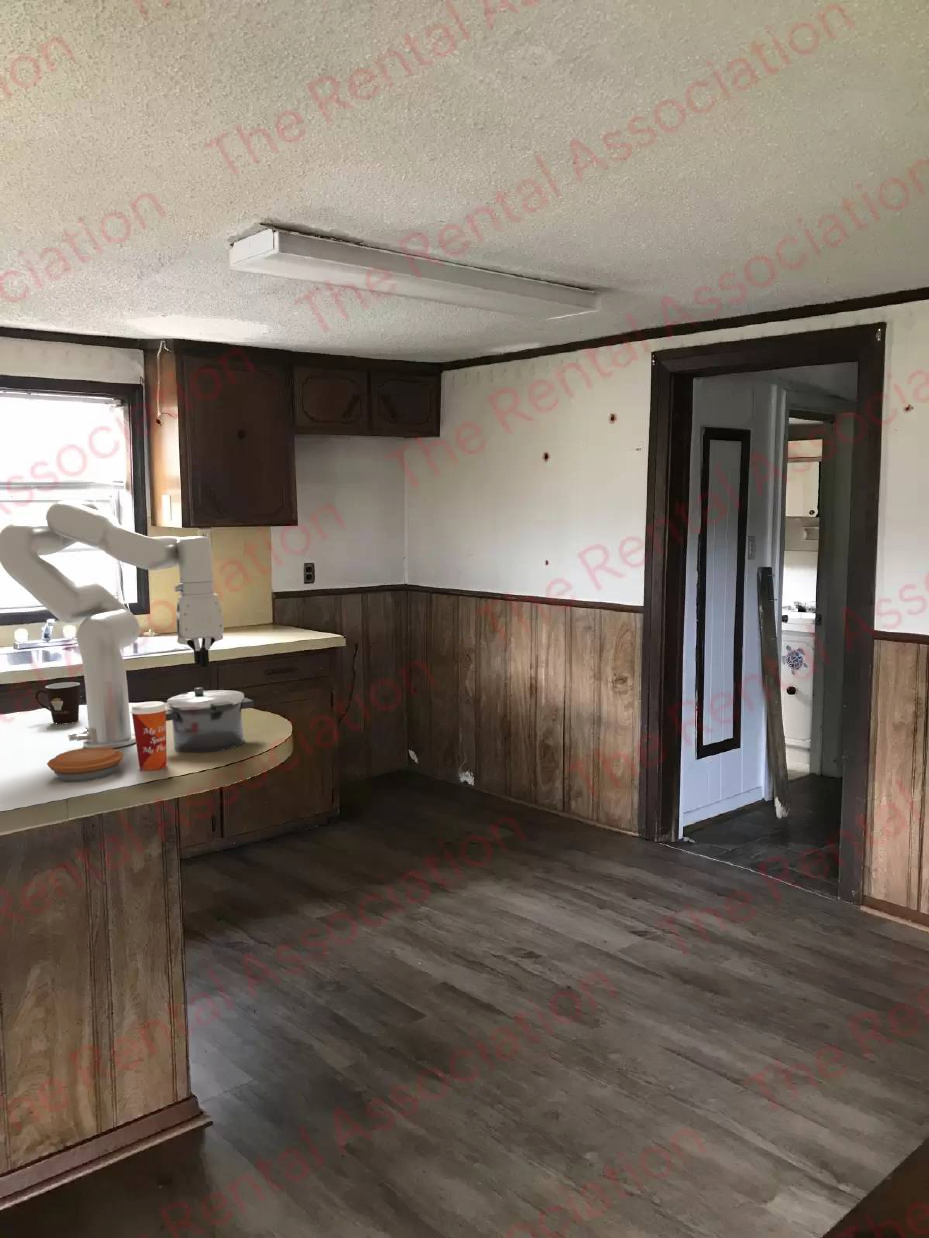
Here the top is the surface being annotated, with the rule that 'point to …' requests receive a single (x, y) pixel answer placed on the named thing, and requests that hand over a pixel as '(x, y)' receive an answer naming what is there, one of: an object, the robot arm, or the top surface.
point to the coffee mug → (62, 701)
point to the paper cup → (150, 734)
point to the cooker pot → (207, 728)
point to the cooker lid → (206, 700)
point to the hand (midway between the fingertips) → (202, 666)
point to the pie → (85, 764)
